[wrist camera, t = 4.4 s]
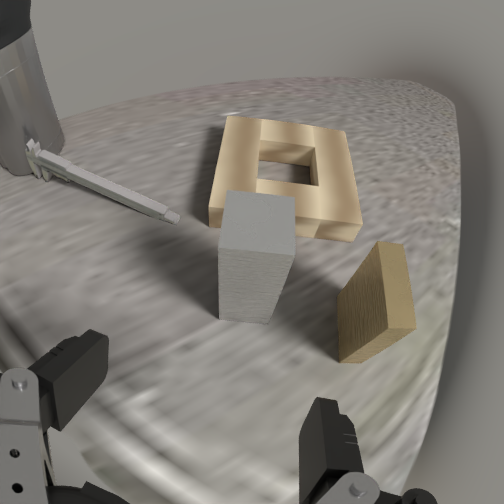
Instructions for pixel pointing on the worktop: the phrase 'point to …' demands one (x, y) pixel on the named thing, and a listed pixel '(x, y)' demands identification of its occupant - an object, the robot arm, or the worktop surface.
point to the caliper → (93, 182)
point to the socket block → (306, 196)
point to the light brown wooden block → (375, 305)
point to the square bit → (254, 254)
